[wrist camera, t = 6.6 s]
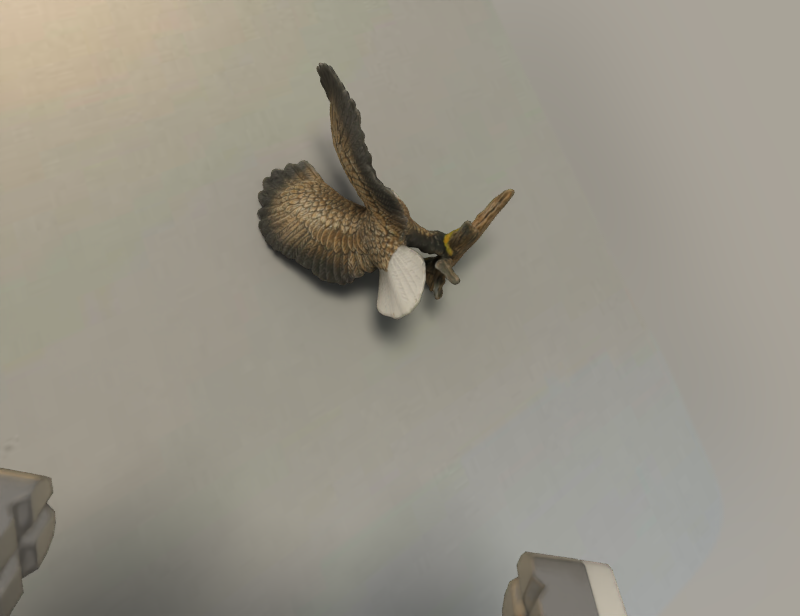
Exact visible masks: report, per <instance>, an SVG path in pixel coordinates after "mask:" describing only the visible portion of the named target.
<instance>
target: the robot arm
mask: <svg viewBox="0 0 800 616" xmlns="http://www.w3.org/2000/svg"><path fill="white" fill-rule="evenodd" d="M52 494H53V487H52V479H51V478H50V477H47V476H42V475H37V474H32V473H26V472H21V471H15V470H10V469H5V468H0V616H10V614H11V612H12V611H13V609H14V607H15V606H16V604H17V603H18V601H19V599H20V598H21V596H22V594H23V593H24V592H23V583H22V578H24V577H26V576H27V575H29V574H30V573H32V572H34V571H35V570H37V569H38V568H39V566H40V565H41V563H42V561H43V560H44V558H45V556H46V554H47V552H48V550H49V547H50V544H51V541H52V539H53V536H54V530H55V523H56V520H55V511H54V510H53V509H52V508H51V507H50V506H49V505H48V504H47V501H48V500H49V498H50V497H51V495H52ZM517 571H518V577H517V578H515V579H513V580H512V581H510V582H509V584H508V587H507V589H506V592H505V595H504V601H503V607H502V616H627V613H626V610H625V607H624V604H623V601H622V598H621V595H620V592H619V589H618V586H617V582H616V579H615V576H614V573H613V570H612V569H611V567H610V566H609V565H608V564H604V563H597V562H591V561H584V560H578V559H573V558H567V557H560V556H553V555H546V554H539V553H532V552H524V553H523V554H522V555H521V557H520V559H519V561H518V563H517Z"/></svg>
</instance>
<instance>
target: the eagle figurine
mask: <svg viewBox="0 0 800 616" xmlns="http://www.w3.org/2000/svg"><path fill="white" fill-rule="evenodd" d="M317 72H318V74H319V76H320V82H321V84H322V86H323V88H324V90H325V92H326V95H327V97H328V99H329V101H330V120H331V132H332V138H333V145H334V148H335V150H336V152H337V155H338V157H339V160H340V162H341V165H342V166H343V169H344V171H345V173H346V175H347V176H348V178H349V180H350V182H351V183H352V185H353V187H354V188H355V190H356V191H357V194H358V196H359V197H360V198H361V200H362V201H363V202H364V204H365V206H366V207H364V206H361V205H358V204H356V203H354V202H352V201H350V200H348V199H346V198H344V197H343V196H341V195H340V194H339V193H337V192H336V191H335V190H334V189H333V188H331V187H330V186H329V185H327V184H326V183H325V182H324V181H323V179H322V178H321V177H320V175H319V174H318V173H317V172H316V171H315V169H314V168H313V166H312V165H310V164H309V163H308V162H307V161H305V160H303V161H300V162H299V164H291V163H289V164H287V165H286V167H285V168H284V170H281V169H274V170H272V172H271V177H266V178H265V179H264V180H263V187H264V190H263V191H260V192H259V194H258V199H259V201H260V203H261V204H262V206H263V208H261V209H259V210H258V213H257V214H258V216H259V217H260V218H261V221H259V228H260V229H261V233H262V235H263V236H265V240H266V242H267V243H268V244H270V245H272V249H273V250H275V251H281V253H282V254H283V255H285V256H286V257H287V258H289V259H296V262H297V263H299V264H301V265H302V266H303V267H304V268H307V269H311V270H312V272H313V274H314V275H316V276H318V277H319V278H320V279H321V280H323V281H327V282H330V283H338V284H340V285H345V284H346V283H353V281H354V279H355V278H359V277H362V276H363V275H364V273H365V272H369V273H372V272H373V271H375V270H376V269H379V291H378V298H377V305H376V306H377V309H378V312H380V313H381V314H382V315H385V316H389V317H392V318H394V319H400V318H402V317H403V316H406V315H408V314H410V313H411V312H412V310H413V309H414V308H416V306H417V305H418V304H419V302H420V299H421V295H422V293H423V290H424V283H425V281H426V284H427V285H428V286H429V290H430V291H433V293H434V296H435V299H437V300H438V299H440V298H441V297H442V294H443V290H442V287H443V285H444V283H445V278H447V279H448V280H449V281H450V282H451V283H453V284H454V285H456V284H458V283H459V282H460V279H459V277H458V276H457V275H456V274H455V273H454V271H453V269H452V267H453V266H454V265H455V264H456V263H457V262H458V261H459V259H460V258H461V257H462V256H463V255H464V253H465V252H466V251H467V250H468V249H469V248H470V247H471V246H472V245H473V244H474V243H475V242H476V241H477V240H478V239H479V238H480V236H481V235H482V234H483V232H484V231H485V230H486V229H487V227H488V226H489V225H490V223H491V222H492V221H493V219H494V218H495V217H496V215H497V214H498V213H499V212H500V211H501V210H502V209H503V208H504V206H505V205H506V204H507V203H508V201H509V200H510V199H511V197H512V196H513V195H514V190H513V189H508V190H506V191H504V192H503V193H501V194H500V195H498V196H497V197H495V198H494V199H493V200H492V201H491V202H490V203H489V205H488V206H487V207H486V208H485V209H484V210H483V211H482V212H481V213H479V214H478V215H477V217H476V219H475V220H474V221H473V222H472V223H471V222H470V221H468V220H467V221H466V222H464V223H463V225H462V226H461V227H460V228H459V229H456V230H454V231H452V232H450V233H448V234H444V233H442V232H440V231H428V230H426V229H424V228H423V227H421V226H419V225H418V224H417V223H416V222H414V221H413V220H412V219H411V217H410V215H409V211H408V209H407V207H406V205H405V204H404V203H403V201H401V200H400V198H399V196H398V195H397V194H396V193H395V192H394V191H393V190H392V189H390V188H388V187H385V186H384V185H383V183H382V182H381V181H380V180H379V179H378V178H377V177H376V172H375V170H374V169H373V167H372V156H371V154H370V153H369V152H368V148H367V146H366V144H365V142H364V138H365V134H364V133H363V131H362V130H361V127H360V124H361V116H360V112H359V110H358V109H357V108H356V104H355V102H354V100H353V99H350V97H349V93H348V91H346V90H345V87H344V85H343V83H342V82H341V81H340V79H339V78H338V76H337V75H336V73H335V71H334V70H333V68H332V67H331V66H328V65H327V64H325V63H319V66H317ZM409 247H415V248H419V250H420V251H421V252H423V253H428V254H437V256H436V257H428V258H422V256H421V255H420V254H419V253H417V252H415V251H414V250H412V249H410V248H409Z"/></svg>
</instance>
